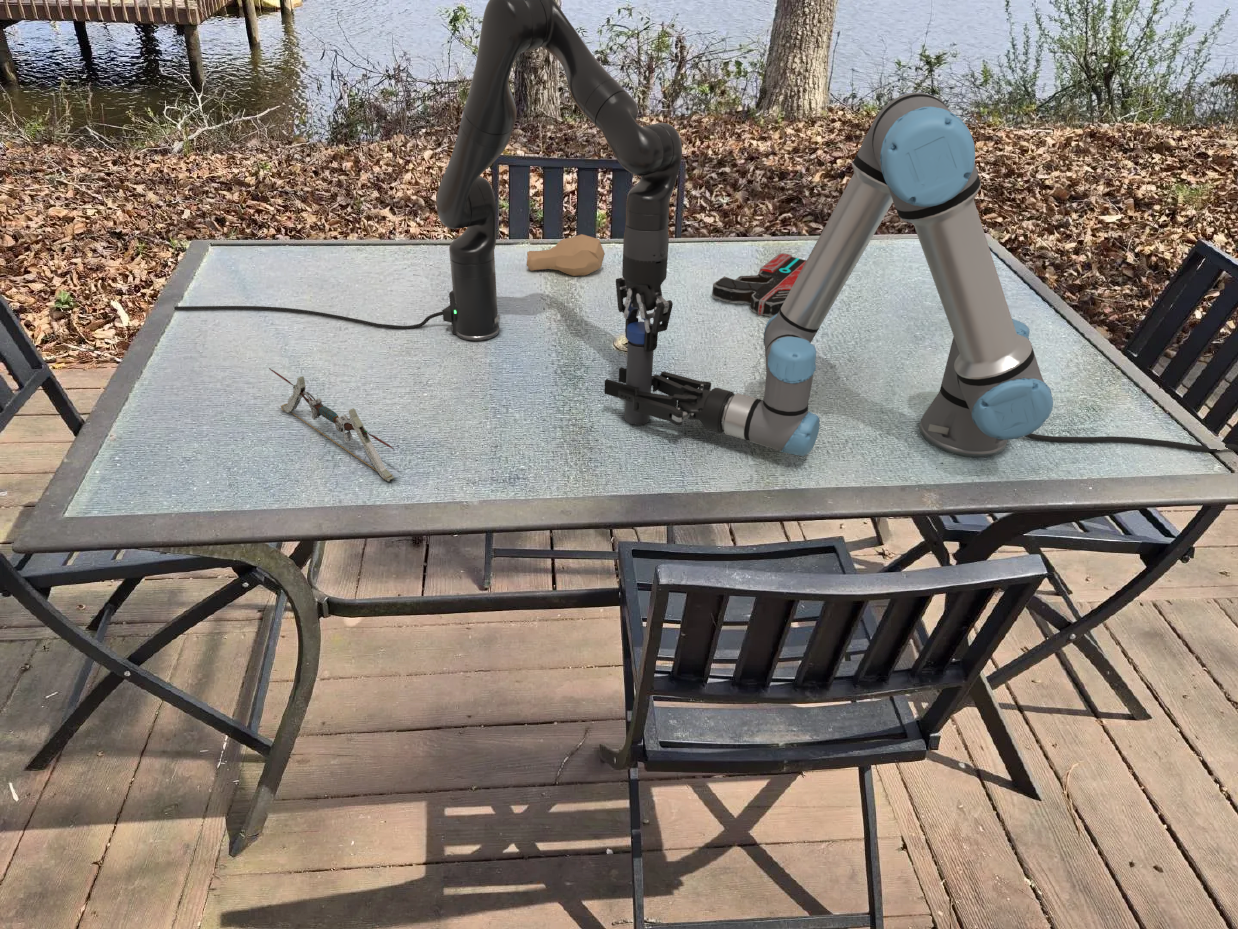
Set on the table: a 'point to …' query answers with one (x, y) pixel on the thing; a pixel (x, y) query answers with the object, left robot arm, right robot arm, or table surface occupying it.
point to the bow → (337, 424)
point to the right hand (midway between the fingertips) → (613, 380)
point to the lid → (636, 332)
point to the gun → (762, 285)
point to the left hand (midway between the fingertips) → (640, 343)
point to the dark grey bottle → (638, 378)
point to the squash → (569, 256)
